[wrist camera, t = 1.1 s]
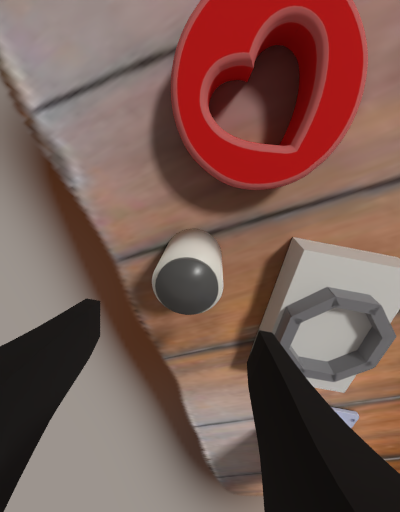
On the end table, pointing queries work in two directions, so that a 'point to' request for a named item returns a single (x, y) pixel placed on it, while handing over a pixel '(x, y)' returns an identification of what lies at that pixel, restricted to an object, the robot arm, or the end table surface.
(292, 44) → the decorative ornament
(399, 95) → the end table surface
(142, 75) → the end table surface
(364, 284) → the plate with octagonal ring
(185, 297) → the lens
